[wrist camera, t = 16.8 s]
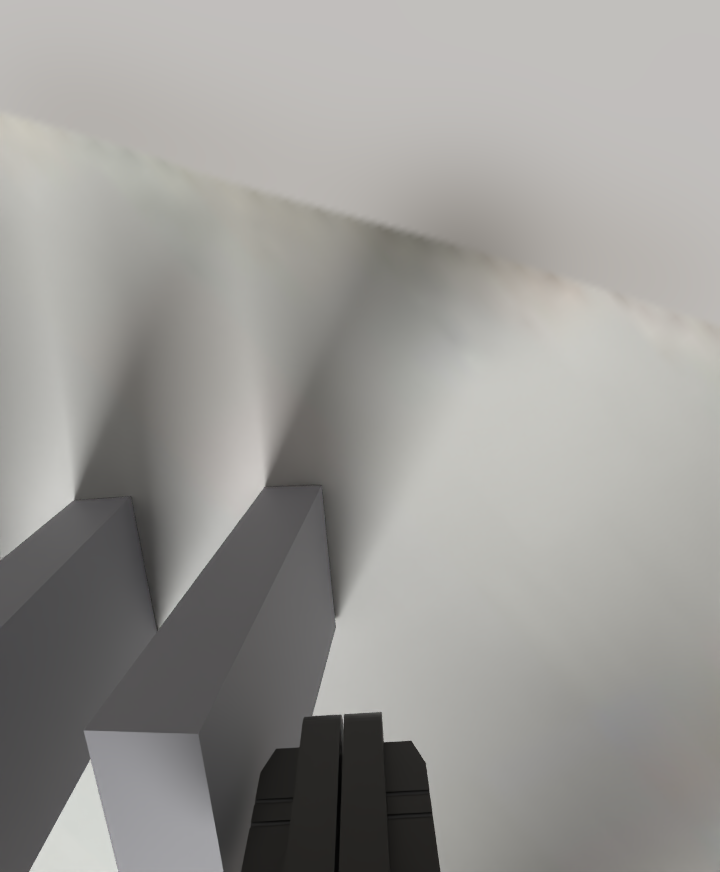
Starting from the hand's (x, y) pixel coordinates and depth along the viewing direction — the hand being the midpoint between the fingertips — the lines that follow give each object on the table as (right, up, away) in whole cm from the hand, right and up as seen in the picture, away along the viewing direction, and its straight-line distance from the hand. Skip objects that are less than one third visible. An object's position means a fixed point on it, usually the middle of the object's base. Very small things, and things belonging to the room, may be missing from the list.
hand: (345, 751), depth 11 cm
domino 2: (-2, +2, +8) cm, 8 cm away
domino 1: (-8, +2, +8) cm, 11 cm away
